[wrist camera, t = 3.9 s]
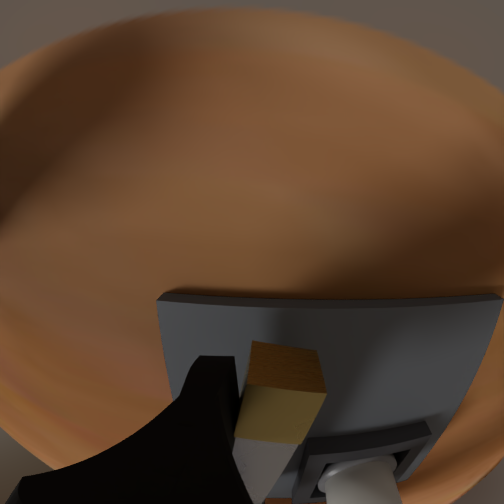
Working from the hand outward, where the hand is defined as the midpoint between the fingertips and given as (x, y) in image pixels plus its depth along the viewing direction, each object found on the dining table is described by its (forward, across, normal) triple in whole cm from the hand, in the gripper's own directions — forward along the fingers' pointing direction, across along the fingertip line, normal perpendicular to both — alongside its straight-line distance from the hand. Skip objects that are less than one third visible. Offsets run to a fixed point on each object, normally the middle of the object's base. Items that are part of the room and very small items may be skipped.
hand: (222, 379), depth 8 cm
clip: (0, -1, +5) cm, 5 cm away
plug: (+3, -6, +10) cm, 12 cm away
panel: (+3, -5, +7) cm, 9 cm away
